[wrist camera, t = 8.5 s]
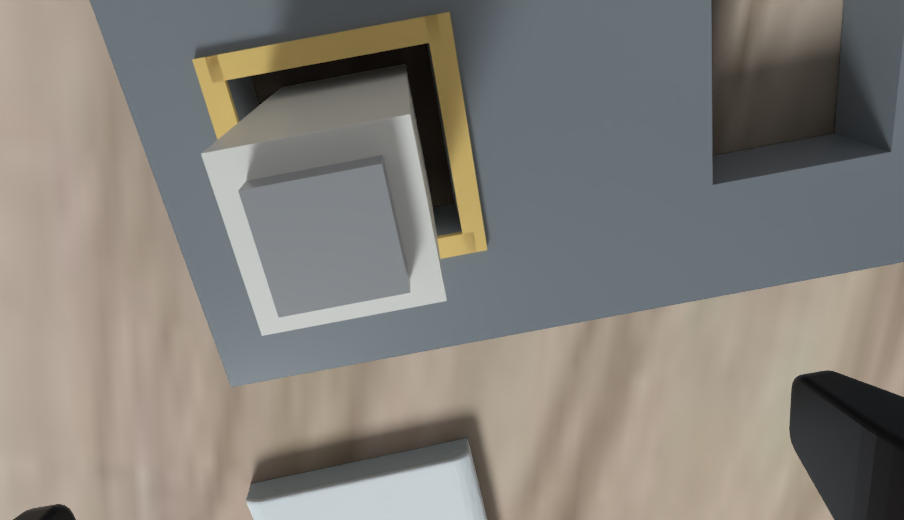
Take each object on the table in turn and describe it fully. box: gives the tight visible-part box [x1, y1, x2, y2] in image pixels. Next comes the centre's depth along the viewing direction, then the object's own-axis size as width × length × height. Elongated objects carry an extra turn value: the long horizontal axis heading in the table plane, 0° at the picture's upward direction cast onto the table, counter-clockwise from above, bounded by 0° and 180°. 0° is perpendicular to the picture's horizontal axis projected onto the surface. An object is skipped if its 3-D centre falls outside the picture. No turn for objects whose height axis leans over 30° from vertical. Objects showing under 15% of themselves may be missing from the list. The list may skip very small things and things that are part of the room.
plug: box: [201, 64, 447, 336], centre depth 15 cm, size 4×4×9 cm
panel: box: [90, 0, 904, 387], centre depth 18 cm, size 22×12×3 cm, turn 99°
